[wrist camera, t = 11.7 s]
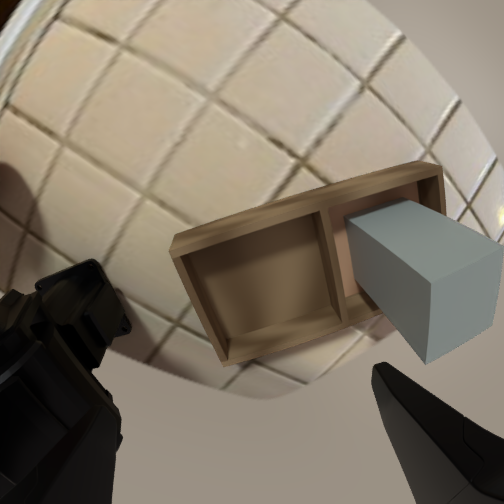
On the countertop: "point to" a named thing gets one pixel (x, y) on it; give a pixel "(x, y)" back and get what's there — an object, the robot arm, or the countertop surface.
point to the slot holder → (290, 263)
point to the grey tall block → (425, 273)
